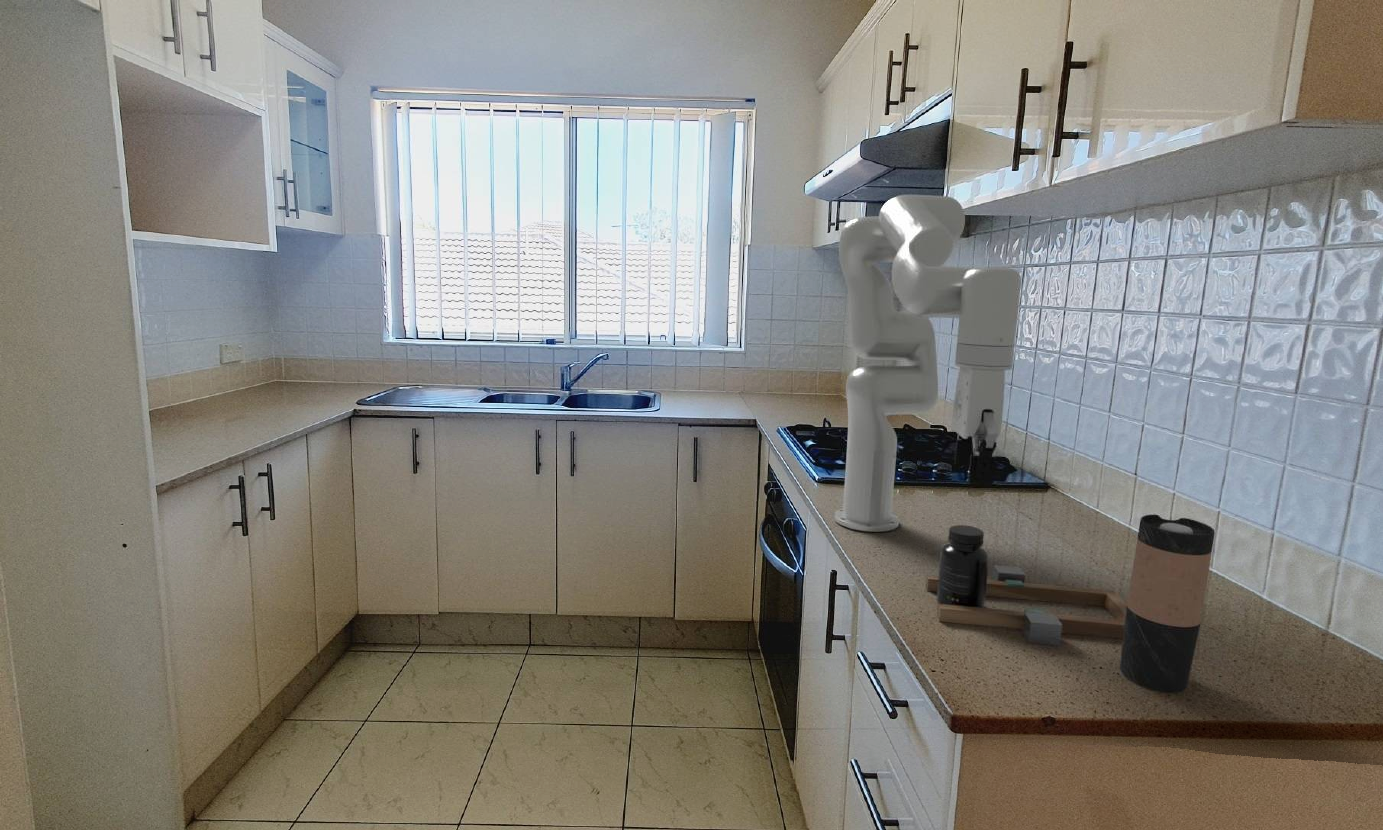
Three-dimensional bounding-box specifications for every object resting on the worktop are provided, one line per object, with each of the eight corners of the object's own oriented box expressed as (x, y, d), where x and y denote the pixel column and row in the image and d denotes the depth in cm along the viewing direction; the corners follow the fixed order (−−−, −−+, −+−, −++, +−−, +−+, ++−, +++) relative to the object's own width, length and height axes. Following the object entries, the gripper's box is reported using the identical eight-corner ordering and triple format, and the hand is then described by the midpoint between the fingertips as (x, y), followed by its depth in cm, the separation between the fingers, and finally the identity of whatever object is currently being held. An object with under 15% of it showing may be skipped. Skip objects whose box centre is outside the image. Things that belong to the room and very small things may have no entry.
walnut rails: (925, 586, 115) (926, 572, 114) (1110, 602, 111) (1112, 588, 110) (939, 621, 103) (940, 606, 103) (1146, 640, 99) (1149, 625, 99)
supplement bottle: (945, 591, 113) (952, 519, 111) (990, 604, 109) (998, 529, 107) (928, 606, 108) (935, 530, 106) (974, 620, 104) (983, 541, 101)
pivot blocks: (991, 582, 117) (993, 565, 116) (1017, 584, 116) (1019, 567, 116) (1028, 642, 98) (1030, 622, 97) (1059, 645, 97) (1062, 624, 96)
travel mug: (1162, 699, 85) (1189, 538, 81) (1103, 667, 92) (1125, 517, 88) (1204, 686, 88) (1231, 530, 84) (1143, 656, 95) (1166, 511, 91)
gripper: (945, 350, 110) (935, 459, 113) (969, 362, 94) (957, 489, 97) (996, 352, 109) (985, 462, 112) (1030, 365, 92) (1016, 493, 96)
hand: (972, 474), depth 104 cm, fingers open, 9 cm apart
